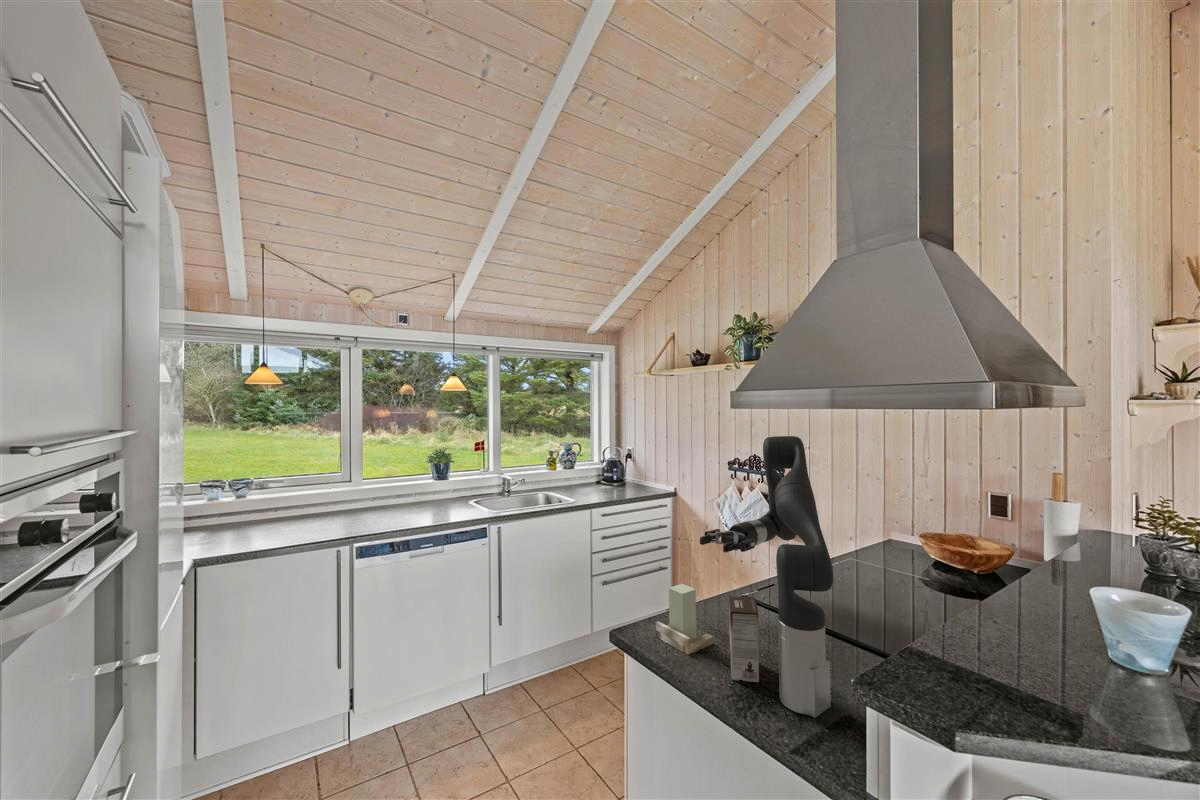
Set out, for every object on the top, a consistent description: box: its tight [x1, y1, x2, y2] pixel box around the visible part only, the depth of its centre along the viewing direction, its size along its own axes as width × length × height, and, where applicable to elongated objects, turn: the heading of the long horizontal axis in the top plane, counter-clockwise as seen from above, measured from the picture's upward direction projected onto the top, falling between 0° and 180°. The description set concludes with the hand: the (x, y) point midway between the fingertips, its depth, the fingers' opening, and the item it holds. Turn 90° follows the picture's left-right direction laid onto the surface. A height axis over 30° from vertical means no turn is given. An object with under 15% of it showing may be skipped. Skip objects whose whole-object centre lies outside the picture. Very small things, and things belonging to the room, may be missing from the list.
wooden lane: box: [655, 620, 714, 656], centre depth 131 cm, size 12×9×4 cm
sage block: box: [668, 583, 697, 640], centre depth 131 cm, size 5×5×14 cm
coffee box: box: [728, 595, 760, 683], centre depth 116 cm, size 9×6×16 cm
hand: (712, 544), depth 138 cm, fingers open, 8 cm apart
